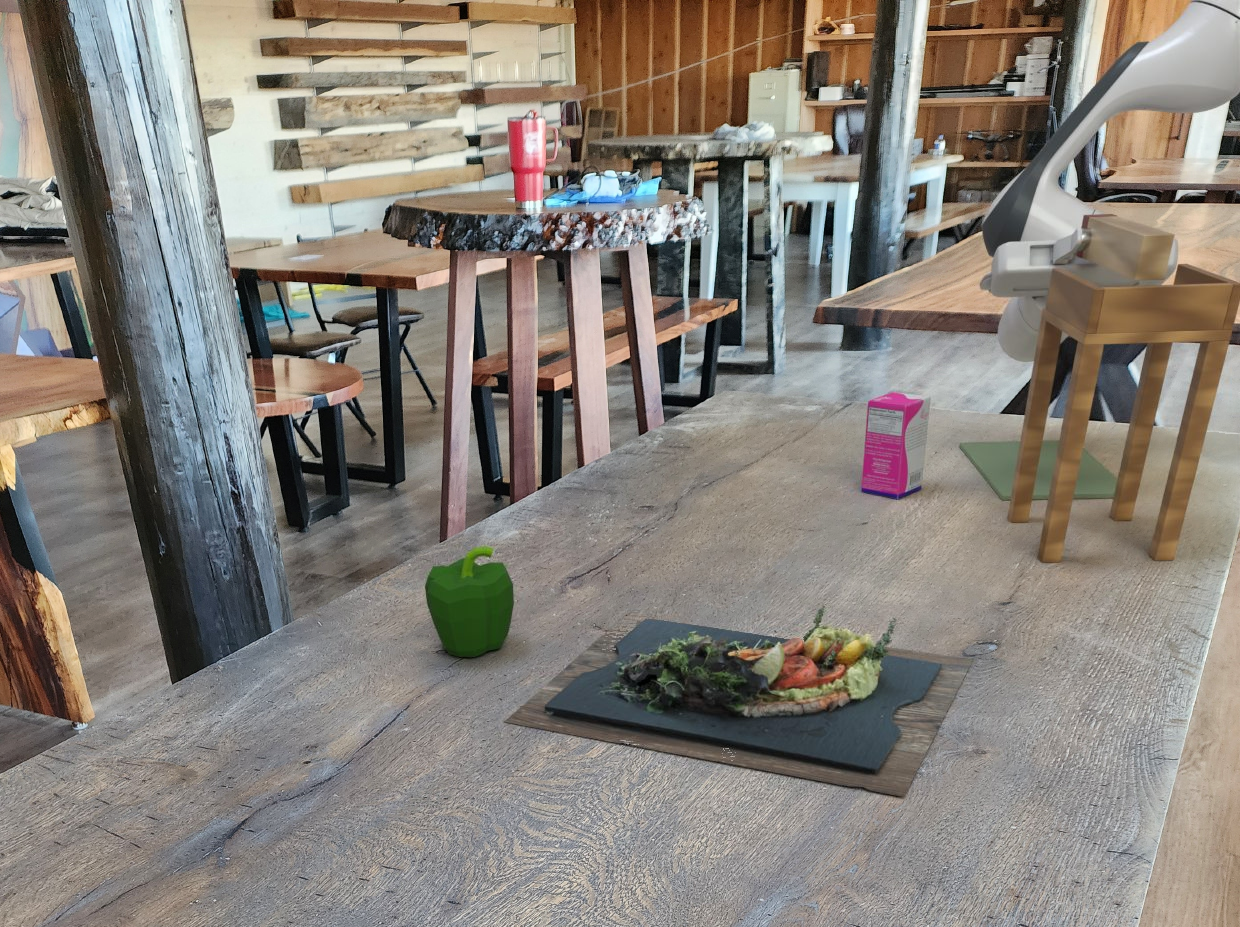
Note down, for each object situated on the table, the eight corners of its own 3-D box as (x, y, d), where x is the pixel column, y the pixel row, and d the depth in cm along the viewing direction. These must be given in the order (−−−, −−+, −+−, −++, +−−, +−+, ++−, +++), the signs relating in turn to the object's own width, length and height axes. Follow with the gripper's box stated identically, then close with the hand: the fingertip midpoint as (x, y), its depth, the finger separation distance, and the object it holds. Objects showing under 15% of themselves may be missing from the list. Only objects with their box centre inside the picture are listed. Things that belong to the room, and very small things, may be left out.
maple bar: (1104, 254, 134) (1112, 213, 131) (1165, 279, 117) (1175, 233, 115) (1076, 255, 134) (1083, 214, 132) (1133, 280, 118) (1143, 234, 115)
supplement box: (883, 481, 156) (893, 389, 150) (922, 489, 152) (934, 395, 146) (858, 491, 153) (867, 398, 146) (897, 499, 149) (908, 404, 143)
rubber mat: (1073, 443, 168) (1074, 439, 167) (1133, 497, 146) (1134, 492, 146) (959, 446, 169) (959, 442, 169) (1001, 500, 148) (1002, 495, 147)
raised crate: (1126, 515, 141) (1184, 261, 126) (1173, 560, 128) (1244, 283, 112) (1007, 517, 142) (1049, 266, 127) (1041, 562, 129) (1094, 288, 113)
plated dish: (974, 656, 109) (986, 580, 105) (910, 804, 88) (921, 717, 84) (627, 613, 122) (624, 544, 118) (501, 733, 102) (493, 654, 97)
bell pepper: (415, 659, 113) (403, 558, 108) (453, 628, 120) (444, 530, 114) (494, 670, 111) (486, 566, 105) (529, 637, 117) (523, 537, 111)
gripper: (976, 263, 144) (1009, 207, 130) (1148, 257, 142) (1201, 200, 128) (974, 317, 144) (1007, 267, 130) (1146, 311, 143) (1198, 260, 129)
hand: (1105, 233), depth 129 cm, fingers closed on maple bar, 3 cm apart
